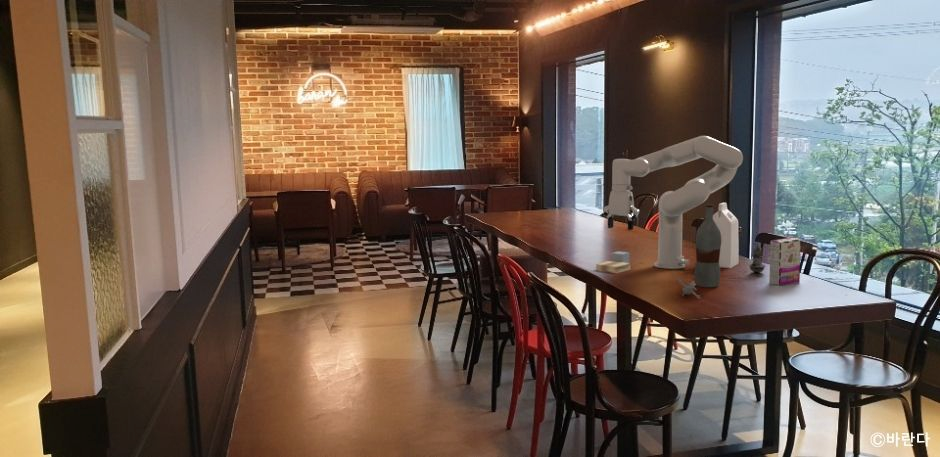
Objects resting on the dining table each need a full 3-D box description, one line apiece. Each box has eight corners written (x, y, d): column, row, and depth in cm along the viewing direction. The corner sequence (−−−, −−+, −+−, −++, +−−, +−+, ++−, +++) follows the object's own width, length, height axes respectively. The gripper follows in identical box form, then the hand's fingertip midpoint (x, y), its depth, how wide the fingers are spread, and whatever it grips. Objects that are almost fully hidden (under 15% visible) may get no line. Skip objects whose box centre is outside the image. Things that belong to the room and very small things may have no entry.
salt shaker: (765, 273, 285) (766, 243, 283) (764, 276, 279) (765, 246, 278) (749, 272, 287) (750, 242, 285) (748, 275, 282) (749, 245, 280)
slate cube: (629, 265, 306) (629, 252, 305) (622, 267, 302) (622, 254, 301) (618, 263, 310) (618, 251, 309) (611, 265, 306) (611, 253, 305)
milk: (711, 260, 313) (713, 201, 309) (738, 263, 306) (740, 202, 303) (702, 265, 303) (704, 204, 300) (730, 268, 297) (732, 205, 293)
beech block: (630, 270, 297) (630, 263, 296) (616, 274, 290) (616, 267, 289) (609, 267, 304) (609, 260, 303) (596, 271, 297) (596, 264, 296)
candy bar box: (788, 280, 272) (790, 237, 270) (799, 282, 267) (802, 239, 265) (767, 283, 267) (769, 240, 264) (779, 286, 262) (781, 241, 260)
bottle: (688, 283, 269) (690, 203, 264) (707, 281, 272) (710, 202, 268) (706, 288, 260) (708, 206, 256) (725, 286, 264) (728, 204, 259)
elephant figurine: (702, 295, 252) (707, 291, 243) (691, 307, 251) (695, 304, 242) (680, 275, 254) (684, 271, 245) (668, 288, 254) (672, 284, 245)
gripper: (644, 188, 298) (643, 229, 300) (608, 186, 310) (608, 226, 312) (634, 190, 293) (633, 231, 295) (598, 187, 305) (598, 227, 307)
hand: (620, 228), depth 304 cm, fingers open, 9 cm apart
